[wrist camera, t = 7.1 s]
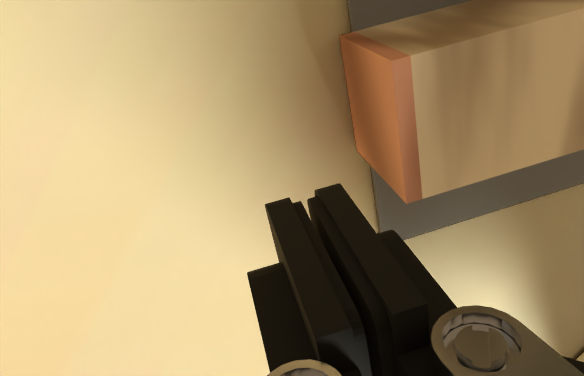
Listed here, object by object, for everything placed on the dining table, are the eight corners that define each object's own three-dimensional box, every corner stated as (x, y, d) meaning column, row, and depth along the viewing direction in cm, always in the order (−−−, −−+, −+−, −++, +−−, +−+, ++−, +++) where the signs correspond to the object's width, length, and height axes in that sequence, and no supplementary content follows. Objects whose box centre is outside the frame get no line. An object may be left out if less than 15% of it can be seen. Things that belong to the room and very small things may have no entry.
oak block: (339, 35, 18) (614, -38, 19) (356, 150, 20) (600, 79, 21) (391, 60, 14) (743, -36, 15) (406, 203, 16) (708, 110, 17)
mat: (827, -250, 18) (837, -253, 17) (725, 134, 25) (731, 136, 25) (327, -136, 16) (330, -137, 15) (381, 242, 23) (383, 246, 23)
